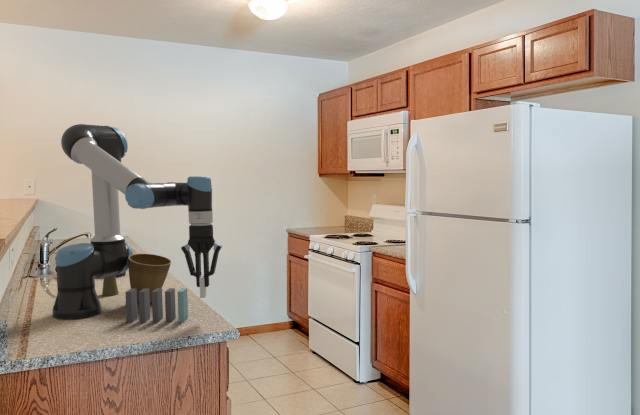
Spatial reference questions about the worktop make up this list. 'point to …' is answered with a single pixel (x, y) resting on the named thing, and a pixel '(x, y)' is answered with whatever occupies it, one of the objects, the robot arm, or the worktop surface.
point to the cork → (110, 286)
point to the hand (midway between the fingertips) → (203, 296)
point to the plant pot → (147, 272)
